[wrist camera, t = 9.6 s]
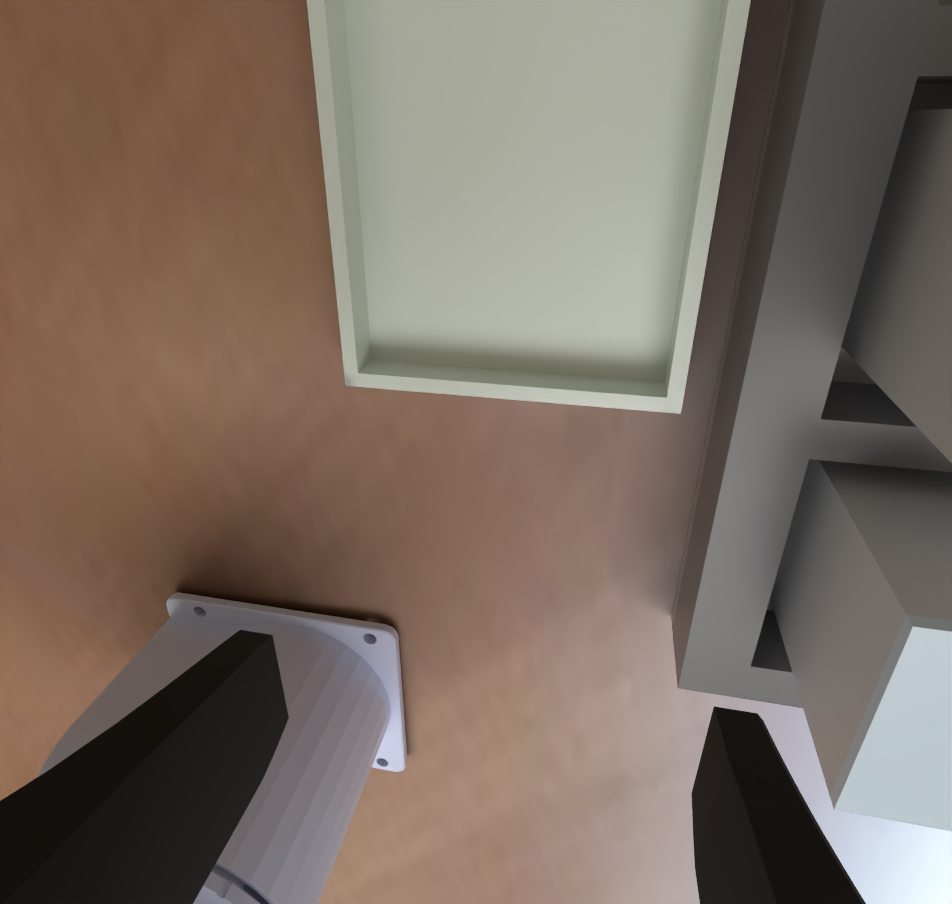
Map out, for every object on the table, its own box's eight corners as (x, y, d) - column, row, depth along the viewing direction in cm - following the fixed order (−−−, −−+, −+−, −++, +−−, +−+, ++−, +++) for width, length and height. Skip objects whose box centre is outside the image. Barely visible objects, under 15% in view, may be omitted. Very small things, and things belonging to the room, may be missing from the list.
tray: (366, 366, 19) (345, 385, 18) (321, -172, 13) (285, -206, 12) (676, 390, 17) (680, 414, 16) (773, -210, 12) (793, -255, 10)
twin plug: (767, 590, 19) (833, 809, 13) (809, 442, 17) (912, 626, 11) (913, 609, 18) (1055, 850, 12) (977, 457, 16) (1193, 664, 10)
